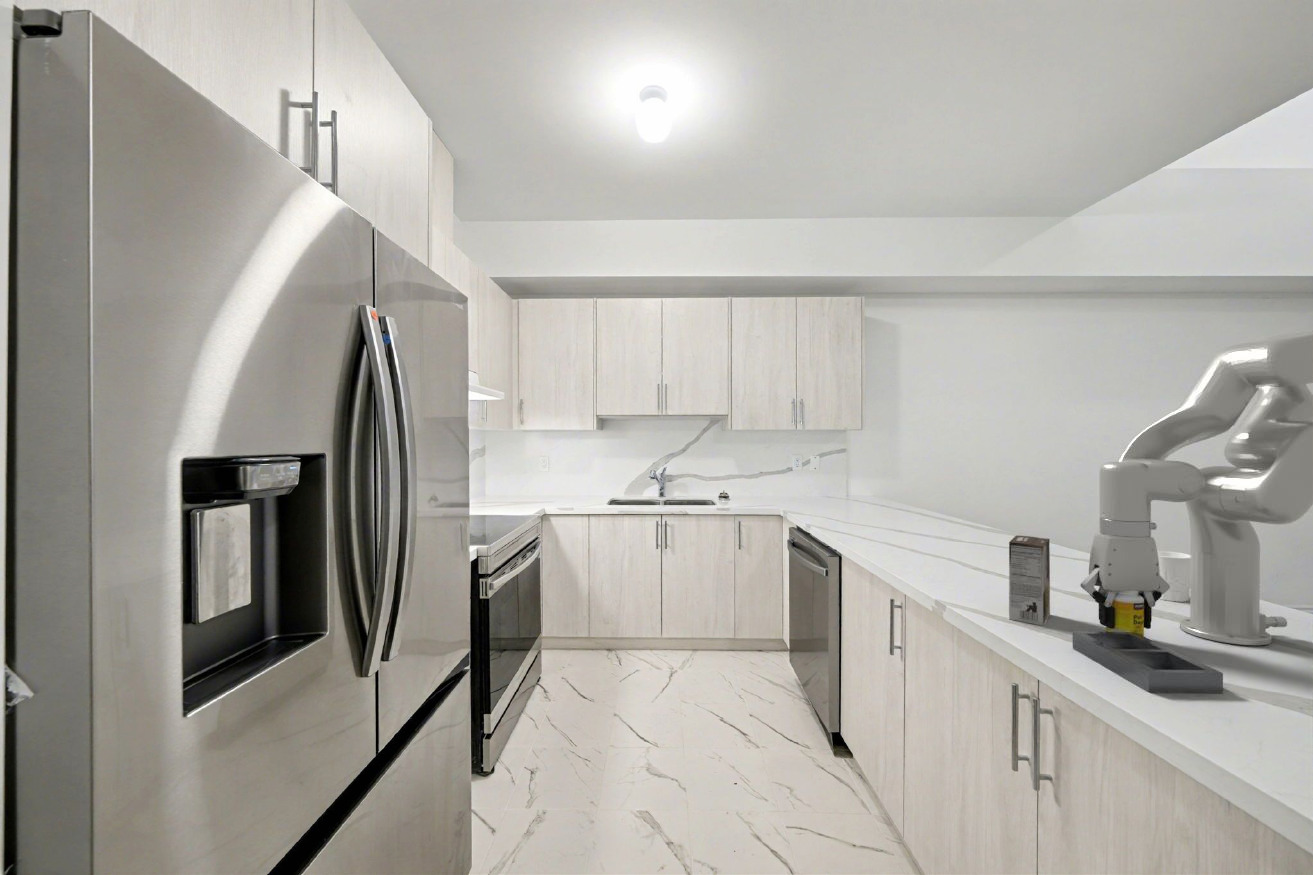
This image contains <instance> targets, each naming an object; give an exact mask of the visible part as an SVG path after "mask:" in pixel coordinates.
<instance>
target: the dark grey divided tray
mask: <svg viewBox="0 0 1313 875" xmlns="http://www.w3.org/2000/svg"><path fill="white" fill-rule="evenodd" d="M1072 649H1073V650H1075V651H1077V652H1078V653H1080V654H1081V655H1084V656H1085V657H1087V658H1088V659H1090V660H1092V661H1094V662H1096V663H1097V664H1098V665H1101V666H1102V667H1104V668H1106V669H1107V670H1109V671H1111V672H1113V673H1115V674H1116V675H1118V676H1120V677H1121V678H1123V679H1124V680H1126V681H1128V682H1130V683H1132V684H1134V685H1135V686H1137V687H1139V688H1141V689H1142V690H1144V691H1146V692H1148V693H1163V694H1166V693H1174V694H1175V693H1176V694H1177V693H1178V694H1181V693H1182V694H1223V693H1224V673H1223V672H1221V671H1219V670H1217V669H1216V668H1213V667H1211V666H1208V665H1206V664H1204V663H1202V662H1200V661H1198V660H1195V659H1193V658H1191V657H1189V656H1188V655H1185V654H1183V653H1180V652H1178V651H1177V650H1174V649H1171V648H1169V647H1167V646H1165V645H1164V644H1160V643H1159V642H1157V641H1155V640H1153V639H1150V638H1149V637H1146V636H1142V635H1139V634H1137V633H1135V632H1106V631H1072ZM1164 692H1165V693H1164Z"/></svg>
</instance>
